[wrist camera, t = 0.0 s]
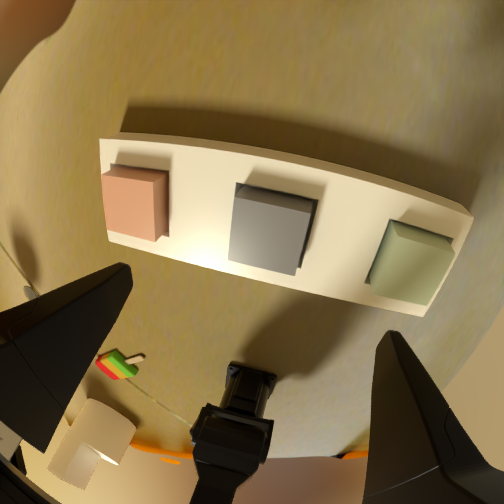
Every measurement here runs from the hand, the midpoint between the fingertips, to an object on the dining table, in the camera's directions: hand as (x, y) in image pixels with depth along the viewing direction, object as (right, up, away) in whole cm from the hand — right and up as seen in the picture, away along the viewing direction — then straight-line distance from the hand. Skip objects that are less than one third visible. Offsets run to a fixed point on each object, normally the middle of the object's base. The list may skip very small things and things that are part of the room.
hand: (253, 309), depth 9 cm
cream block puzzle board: (+2, +5, +14) cm, 15 cm away
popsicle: (-22, -17, +35) cm, 45 cm away
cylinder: (-42, -47, +59) cm, 86 cm away
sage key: (+12, +2, +11) cm, 17 cm away
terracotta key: (-9, +7, +14) cm, 18 cm away
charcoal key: (+2, +4, +12) cm, 13 cm away
